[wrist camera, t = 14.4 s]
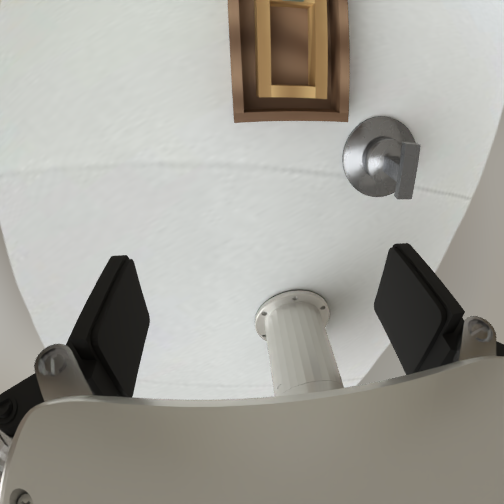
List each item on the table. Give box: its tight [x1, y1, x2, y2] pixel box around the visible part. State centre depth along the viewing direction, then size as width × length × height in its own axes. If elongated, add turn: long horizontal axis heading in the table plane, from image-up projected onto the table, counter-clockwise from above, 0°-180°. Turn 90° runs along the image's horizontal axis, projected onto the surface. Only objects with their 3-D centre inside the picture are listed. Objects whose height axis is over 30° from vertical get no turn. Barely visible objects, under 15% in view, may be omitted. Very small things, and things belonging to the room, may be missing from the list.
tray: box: [228, 0, 349, 123], centre depth 25 cm, size 17×12×4 cm
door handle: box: [343, 116, 420, 199], centre depth 31 cm, size 11×11×7 cm
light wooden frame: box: [254, 0, 328, 99], centre depth 24 cm, size 7×12×4 cm, turn 1°
